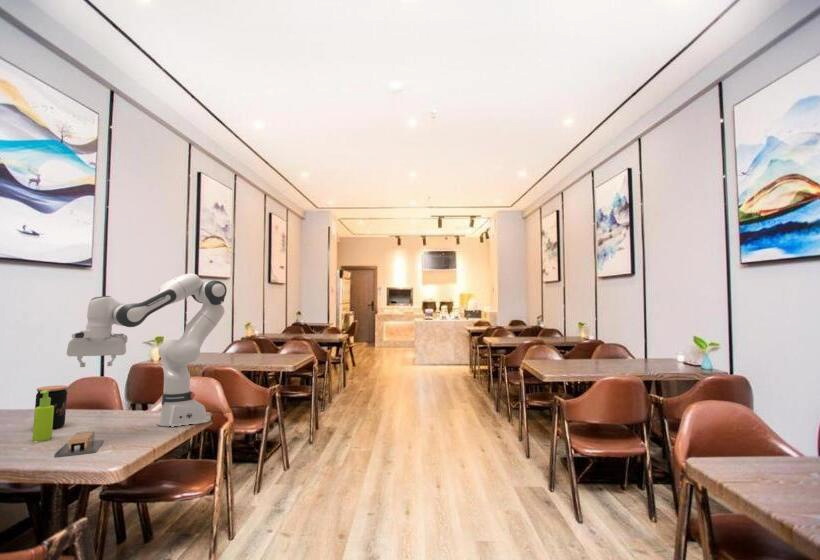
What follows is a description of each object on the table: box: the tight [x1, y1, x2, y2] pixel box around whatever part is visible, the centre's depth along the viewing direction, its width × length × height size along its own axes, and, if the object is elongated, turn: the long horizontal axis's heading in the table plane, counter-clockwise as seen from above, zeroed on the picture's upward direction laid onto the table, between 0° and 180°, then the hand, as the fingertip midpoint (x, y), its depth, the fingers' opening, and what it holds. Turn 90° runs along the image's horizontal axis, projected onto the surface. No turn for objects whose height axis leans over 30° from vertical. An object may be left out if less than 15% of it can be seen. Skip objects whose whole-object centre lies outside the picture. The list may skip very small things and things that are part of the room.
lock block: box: [68, 432, 93, 451], centre depth 159 cm, size 6×9×4 cm, turn 26°
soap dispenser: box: [32, 390, 54, 442], centre depth 171 cm, size 6×7×20 cm
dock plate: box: [53, 430, 104, 458], centre depth 159 cm, size 12×14×5 cm
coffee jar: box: [34, 384, 68, 430], centre depth 188 cm, size 11×11×18 cm
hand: (96, 366), depth 177 cm, fingers open, 8 cm apart
